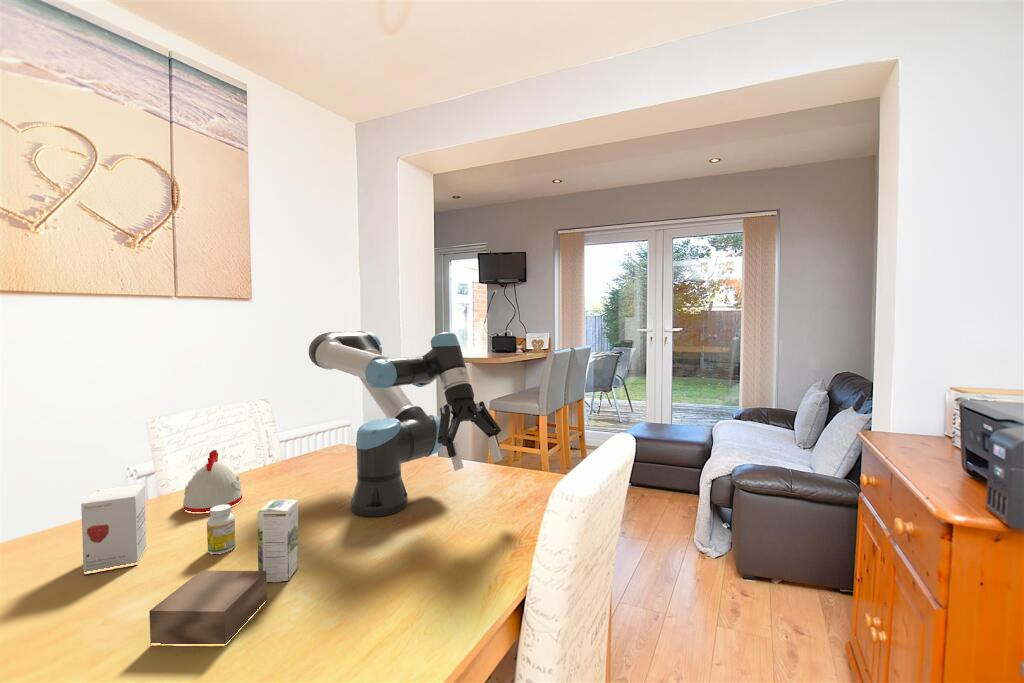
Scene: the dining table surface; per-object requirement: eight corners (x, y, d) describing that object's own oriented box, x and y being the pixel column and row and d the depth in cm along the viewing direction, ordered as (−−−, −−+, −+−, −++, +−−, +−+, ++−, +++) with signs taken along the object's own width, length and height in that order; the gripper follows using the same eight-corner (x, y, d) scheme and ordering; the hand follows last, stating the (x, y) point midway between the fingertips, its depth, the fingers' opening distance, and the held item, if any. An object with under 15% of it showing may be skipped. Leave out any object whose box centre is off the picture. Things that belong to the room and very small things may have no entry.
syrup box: (270, 568, 97) (268, 499, 97) (299, 567, 98) (298, 498, 97) (257, 584, 92) (255, 510, 91) (289, 582, 92) (287, 509, 91)
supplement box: (81, 577, 94) (78, 503, 94) (96, 557, 102) (93, 489, 102) (138, 566, 98) (135, 495, 98) (148, 547, 106) (145, 482, 106)
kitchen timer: (247, 493, 140) (245, 443, 140) (235, 510, 127) (234, 456, 127) (193, 498, 136) (191, 447, 135) (175, 517, 123) (173, 461, 122)
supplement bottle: (233, 552, 104) (232, 510, 104) (205, 557, 102) (204, 514, 101) (237, 542, 109) (236, 501, 108) (210, 546, 107) (208, 505, 106)
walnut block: (150, 647, 74) (149, 610, 74) (202, 602, 86) (201, 570, 86) (225, 648, 74) (224, 611, 74) (267, 603, 86) (266, 571, 86)
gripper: (428, 383, 115) (450, 469, 108) (498, 380, 133) (521, 453, 127) (411, 394, 119) (431, 477, 113) (481, 390, 138) (503, 461, 131)
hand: (479, 465), depth 120 cm, fingers open, 13 cm apart
